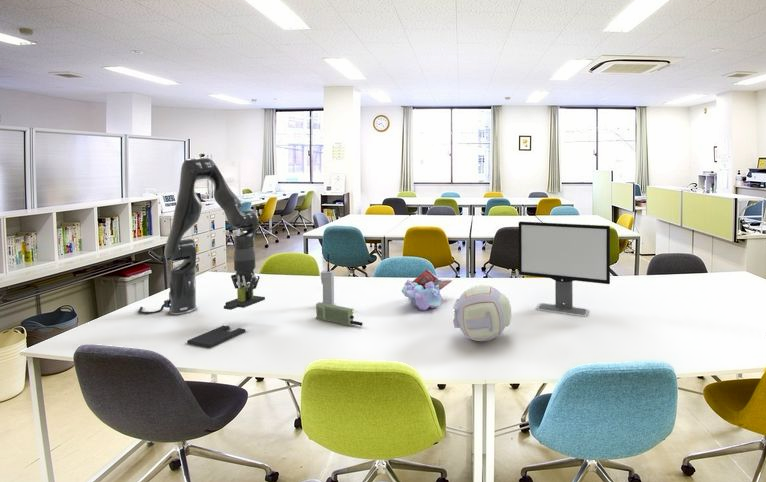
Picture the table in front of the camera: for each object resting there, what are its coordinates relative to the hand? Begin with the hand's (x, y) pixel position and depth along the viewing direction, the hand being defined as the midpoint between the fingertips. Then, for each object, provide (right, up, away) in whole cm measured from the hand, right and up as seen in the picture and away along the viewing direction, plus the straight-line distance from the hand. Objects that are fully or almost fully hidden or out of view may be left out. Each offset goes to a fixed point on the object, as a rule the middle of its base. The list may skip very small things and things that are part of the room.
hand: (245, 298), depth 154 cm
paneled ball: (+100, -11, -13) cm, 101 cm away
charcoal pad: (-4, -11, -11) cm, 16 cm away
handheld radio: (+39, -11, +2) cm, 40 cm away
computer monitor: (+137, -10, +15) cm, 138 cm away
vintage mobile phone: (+26, -11, +21) cm, 35 cm away
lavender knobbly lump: (+72, -10, +23) cm, 77 cm away
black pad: (0, -2, -1) cm, 2 cm away
